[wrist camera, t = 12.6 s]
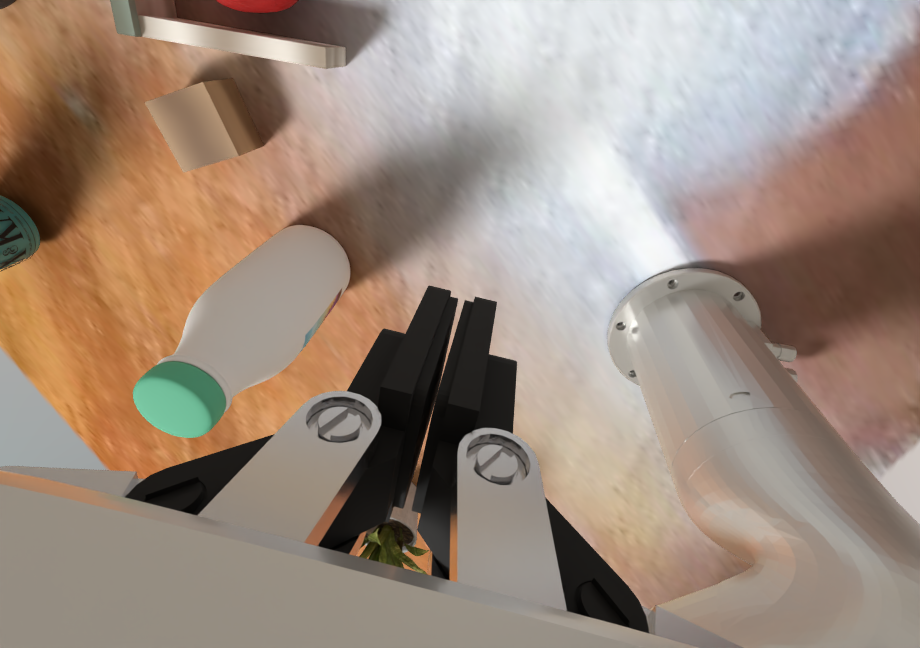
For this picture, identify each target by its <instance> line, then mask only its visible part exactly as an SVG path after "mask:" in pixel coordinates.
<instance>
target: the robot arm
mask: <svg viewBox="0 0 920 648" xmlns="http://www.w3.org/2000/svg"><path fill="white" fill-rule="evenodd" d="M671 280H672V281H671ZM669 281H671V282H669ZM450 295H451V291H449V290H445V289H441V288H437V287H433V286H428V288H427V290H426V292H425V294H424V296H423V298H422V301H421V303H420V305H419V307H418V309H417V311H416V313H415V315H414V317H413V319H412V321H411V324H410V326H409V328H408V330H407V332H406V334H404V333H400V332H396V331H392V330H388V329H383V330H382V331H381V332H380V334H379V336H378V338H377V339H376V341H375V343H374V345H373V346H372V348H371V350H370V352H369V353H368V355H367V357H366V359H365V360H364V362H363V364H362V366H361V367H360V369H359V371H358V373H357V374H356V376H355V378H354V380H353V381H352V383H351V385H350V387H349V388H348V390H347V391H333V392H327V393H322V394H320V395H318V396H315V397H313V398H311V399H310V400H309V401H307V402H306V403H305V404H303V405H302V406H301V407H300V409H299V410H298V411H297V412H296V413H295V414H294V415H293V416H292V417H291V418H290V419H289V420H288V421H287V422H286V423H285V424H284V425H283V426H282V427H281V428H280V429H279V430H278V432H277V433H276V434H274V435H271V436H268V437H264V438H261V439H258V440H255V441H252V442H248V443H245V444H242V445H239V446H236V447H233V448H229V449H226V450H223V451H220V452H217V453H214V454H210V455H207V456H204V457H201V458H198V459H195V460H191V461H188V462H185V463H182V464H179V465H176V466H172V467H169V468H166V469H164V470H162V471H159V472H157V473H155V474H152V475H150V476H149V477H147V478H146V479H138V476H137V472H131V471H109V470H88V469H66V468H45V467H24V466H5V467H0V648H920V524H919V523H918V522H917V521H916V520H915V519H913V517H912V516H910V514H909V513H908V512H907V511H906V510H905V509H904V508H903V507H902V506H901V505H900V504H899V503H898V502H897V501H896V500H895V499H894V498H893V497H892V496H891V494H890V493H889V492H888V491H887V490H886V489H885V488H884V487H883V485H882V484H881V483H880V482H879V481H878V480H877V478H876V477H875V476H874V475H873V474H872V473H871V472H870V470H869V469H868V468H867V467H866V466H865V465H864V464H863V462H862V461H861V460H860V459H859V458H858V457H857V455H856V454H855V453H854V452H853V451H852V449H851V448H850V447H849V446H848V445H847V443H846V442H845V441H844V440H843V439H842V437H841V436H840V435H839V434H838V432H837V431H836V430H835V429H834V428H833V426H832V425H831V424H830V423H829V422H828V420H827V419H826V418H825V417H824V415H823V414H822V413H821V412H820V411H819V409H818V408H817V407H816V406H815V404H814V403H813V402H812V401H811V399H810V398H809V397H808V396H807V395H806V393H805V392H804V391H803V390H802V388H801V387H800V386H799V385H798V384H797V374H796V372H795V371H794V370H793V369H789V368H784V366H783V365H782V364H781V363H780V361H786V362H792V361H793V360H794V359H795V358H796V355H797V350H796V348H795V347H793V346H790V345H784V344H779V343H777V344H775V343H771V342H770V341H769V340H768V338H767V337H766V336H765V335H764V334H763V332H762V331H761V325H762V323H761V312H760V310H759V307H758V304H757V301H756V300H755V299H754V297H753V296H752V294H751V293H750V292H749V291H748V290H747V289H746V288H745V287H744V286H743V285H742V284H741V283H740V282H739V281H737V280H736V279H734V278H733V277H731V276H729V275H727V274H724V273H722V272H719V271H715V270H710V269H704V268H685V269H679V270H673V271H669V272H666V273H663V274H660V275H657V276H655V277H653V278H651V279H649V280H647V281H645V282H643V283H642V284H640V285H639V286H638V287H636V288H635V289H633V290H632V291H631V292H630V293H629V294H628V295H627V296H626V297H625V298H624V299H623V300H622V301H621V302H620V304H619V305H618V307H617V308H616V309H615V311H614V313H613V315H612V318H611V320H610V322H609V327H608V332H607V344H608V348H609V352H610V355H611V358H612V360H613V363H614V365H615V366H616V367H617V369H618V370H619V371H620V373H621V374H622V375H624V376H625V377H626V378H627V379H628V380H630V381H632V382H633V383H635V384H637V385H638V386H640V388H641V391H642V394H643V396H644V399H645V402H646V405H647V408H648V411H649V414H650V417H651V419H652V422H653V425H654V428H655V431H656V434H657V437H658V439H659V442H660V445H661V448H662V451H663V454H664V457H665V460H666V462H667V465H668V468H669V471H670V474H671V477H672V480H673V483H674V485H675V488H676V491H677V494H678V497H679V499H680V501H681V503H682V506H683V508H684V509H685V511H686V513H687V514H688V516H689V517H690V519H691V520H692V521H693V522H694V524H695V525H696V526H697V527H698V528H699V529H700V530H701V531H702V532H703V533H704V534H705V535H706V536H707V537H709V538H710V539H711V540H712V541H714V542H715V543H716V544H718V545H719V546H721V547H722V548H724V549H725V550H727V551H728V552H730V553H731V554H733V555H735V556H736V557H738V558H740V559H742V560H743V561H745V562H747V563H749V564H751V565H752V567H751V568H749V569H748V570H747V571H745V572H743V573H741V574H739V575H736V576H734V577H731V578H729V579H726V580H724V581H722V582H721V583H719V584H717V585H714V586H711V587H708V588H705V589H702V590H700V591H697V592H694V593H691V594H688V595H686V596H683V597H680V598H677V599H674V600H671V601H669V602H666V603H663V604H660V605H655V607H652V608H650V609H647V608H645V607H643V606H641V604H640V602H639V600H638V599H637V597H636V596H635V595H634V593H633V592H632V591H631V589H630V588H629V587H628V586H627V584H626V583H625V582H624V581H623V580H622V579H621V578H620V577H619V576H618V575H617V574H616V573H615V572H614V571H613V569H612V568H611V567H610V566H609V565H608V564H607V563H606V562H605V561H604V560H603V559H602V558H601V557H600V556H599V554H598V553H597V552H596V551H595V550H594V549H593V548H592V547H591V546H590V545H589V544H588V543H587V542H586V541H585V539H584V538H583V537H582V536H581V535H580V534H579V533H578V532H577V531H576V530H575V529H574V528H573V527H572V526H571V524H570V523H569V522H568V521H567V520H566V519H565V518H564V517H563V516H562V515H561V514H560V513H559V512H558V511H557V509H556V508H555V507H554V506H553V505H552V504H551V503H550V502H549V501H548V500H547V499H546V498H545V494H544V489H543V484H542V479H541V473H540V468H539V463H538V461H537V458H536V455H535V453H534V452H533V450H532V449H531V448H530V446H529V445H528V444H527V443H526V442H524V441H523V440H522V439H521V438H519V437H518V436H516V435H514V434H513V420H514V404H515V388H516V371H517V362H516V361H514V360H510V359H506V358H502V357H498V356H494V355H490V354H489V349H490V343H491V336H492V330H493V324H494V318H495V311H496V305H497V302H495V301H491V300H487V299H482V298H478V297H475V299H474V302H470V301H466V300H465V302H464V305H463V309H462V312H461V316H460V319H459V322H458V326H457V329H456V332H455V336H454V339H453V343H452V346H451V349H450V353H449V356H448V360H447V363H446V366H445V370H444V373H443V376H442V371H443V367H444V362H445V357H446V353H447V348H448V344H449V339H450V335H451V330H452V325H453V321H454V316H455V312H456V307H457V302H458V299H457V298H453V297H450ZM619 322H621V323H619ZM779 360H780V361H779ZM441 376H442V380H441ZM440 380H441V383H440ZM439 385H440V387H439ZM438 389H439V390H438ZM437 393H438V394H437ZM435 400H436V401H435ZM434 404H435V405H434ZM433 407H434V409H433ZM432 411H433V414H432ZM431 414H432V418H431V423H430V427H429V432H428V437H427V441H426V446H425V450H424V455H423V460H422V464H421V469H420V473H419V478H418V483H417V487H416V492H415V496H414V501H413V505H412V511H414V512H417V513H421V516H420V520H419V525H418V529H417V530H418V532H419V533H420V535H421V536H422V538H423V539H424V541H425V542H426V544H427V545H428V547H429V548H430V555H429V559H428V571H427V574H423V573H419V572H415V571H412V570H408V569H404V568H400V567H396V566H392V565H388V564H385V563H381V562H377V561H373V560H369V559H365V558H361V557H357V556H356V554H357V553H358V551H359V549H360V547H361V545H362V543H363V540H364V538H365V535H366V531H367V530H369V529H371V528H373V527H375V526H377V525H379V524H381V523H383V522H388V523H389V520H390V517H391V514H392V511H393V508H394V507H398V508H402V509H403V508H404V505H405V502H406V499H407V495H408V492H409V488H410V485H411V482H412V478H413V475H414V471H415V468H416V465H417V461H418V458H419V455H420V451H421V448H422V444H423V441H424V438H425V434H426V431H427V427H428V424H429V421H430V417H431Z"/></svg>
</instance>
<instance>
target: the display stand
mask: <svg viewBox="0 0 920 648" xmlns="http://www.w3.org/2000/svg"><path fill="white" fill-rule="evenodd" d="M110 2H111V7H112V11H113V16H114V21H115V25H116V30H117V33H118V34H124V35H129V36H135V37H147V38H152V39H158V40H164V41H170V42H175V43H181V44H187V45H192V46H198V47H204V48H210V49H215V50H221V51H227V52H233V53H238V54H244V55H250V56H255V57H261V58H267V59H273V60H278V61H284V62H290V63H295V64H301V65H307V66H313V67H318V68H324V69H328V68H336V67H344V66H346V47H342V46H336V45H330V44H324V43H319V42H313V41H307V40H301V39H296V38H290V37H284V36H278V35H273V34H267V33H261V32H255V31H249V30H244V29H238V28H232V27H226V26H221V25H215V24H209V23H203V22H198V21H192V20H186V19H180V18H177V14H176V8H175V1H174V0H110Z"/></svg>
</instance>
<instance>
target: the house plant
mask: <svg viewBox="0 0 920 648" xmlns="http://www.w3.org/2000/svg"><path fill="white" fill-rule="evenodd" d="M415 492H416V486H415V485H414V484H413V483H412V482H411V485H410V488H409V492H408V495H407V499H406V502H405V505H404V508H403V509H402V508H398V507H394V508H393V511H392V514H391V517H390V520H389V523H388V522H383V523H381V524H379V525H377V526H375V527H373V528H371V529H369V530H367V531H366V535H365V538H364V540H363V543H362V545H361V547H362V546H364V545H366V548H365V550H364V551H363V552H362V554H361V555H360V557H361V558H365V559H367V557H368V556H369V555H370V554H371V555H370V557H369V560H373V561H377V562H381V563H385V564H388V565H392V566H396V567H400V568H404V567H403V564H402V562H403V563H404V564H406V565H407V566H409V567H410V568H412V569H414V570H415V571H417V572H419V573H423V574H427V573H426V572H425V571H423V570H422V569H420V568H419V567H418V566H417V565H416V564H415V563H414V562H413V560H411V559H410V558H409V557H408V556H406V555H405V554H404V552H407V551H409V552H410V553H412V554H413V555H415V556H420V555H423V554H425V553H426V552H428V551H429V550H427V551H426V550H423V549H420V548H416V547H414V545H415V544H416V540H417V519H418V513H417V512H414V511H412V505H413V501H414V496H415ZM361 547H360V548H361Z"/></svg>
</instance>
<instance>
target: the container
mask: <svg viewBox="0 0 920 648" xmlns="http://www.w3.org/2000/svg"><path fill="white" fill-rule="evenodd" d="M14 1H15V0H0V9H2V8H5V7H7V6H9V5H10V4H12V3H13V2H14Z"/></svg>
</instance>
